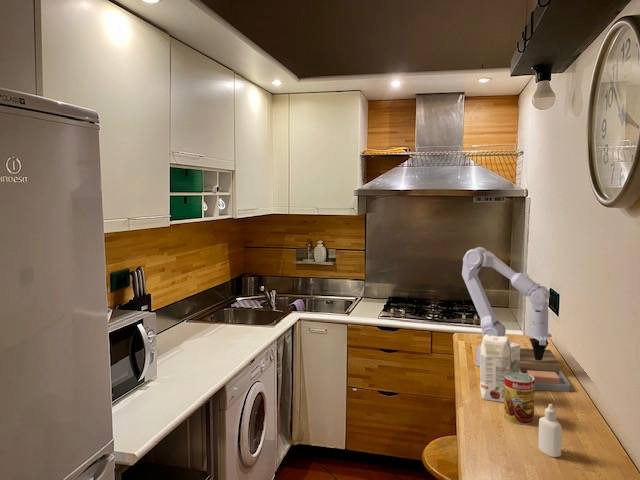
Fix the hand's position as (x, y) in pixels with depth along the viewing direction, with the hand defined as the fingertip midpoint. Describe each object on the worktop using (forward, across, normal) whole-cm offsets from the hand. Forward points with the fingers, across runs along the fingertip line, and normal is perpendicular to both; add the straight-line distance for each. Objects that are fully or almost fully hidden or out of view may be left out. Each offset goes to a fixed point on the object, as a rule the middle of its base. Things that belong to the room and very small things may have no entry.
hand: (538, 359), depth 175 cm
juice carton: (+5, -25, +17) cm, 31 cm away
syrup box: (+5, -15, +12) cm, 20 cm away
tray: (+5, -9, 0) cm, 10 cm away
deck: (+5, +7, 0) cm, 9 cm away
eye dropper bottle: (+5, -57, +8) cm, 58 cm away
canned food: (+5, -39, +12) cm, 41 cm away
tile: (+2, -8, 0) cm, 8 cm away
